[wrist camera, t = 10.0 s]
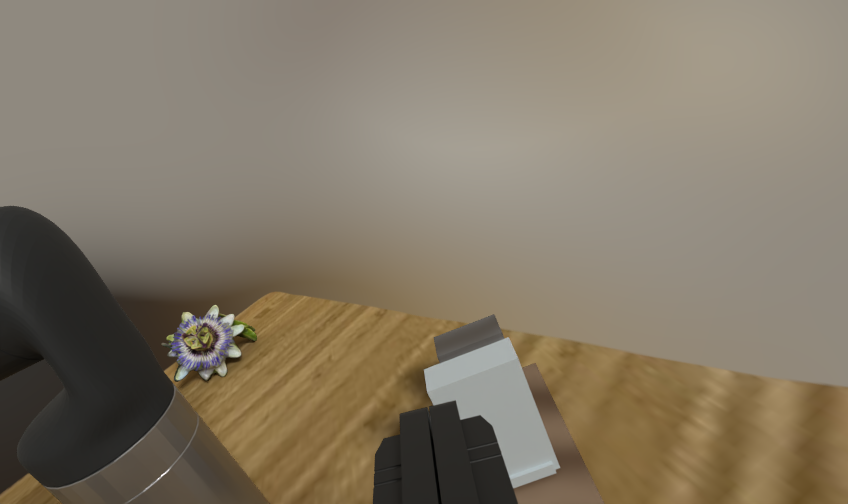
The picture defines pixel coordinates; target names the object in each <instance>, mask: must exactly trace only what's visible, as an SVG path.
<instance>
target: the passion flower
mask: <svg viewBox="0 0 848 504" xmlns="http://www.w3.org/2000/svg"><path fill="white" fill-rule="evenodd" d="M218 312H219V309H218V307H217V306H216V305H214V306H212V308H211V309H210V310H209V311H208V312H207V314H206V315H205V316H204V317H203V320H201V317H200V318H199V320H198V319H197V318H195V315H194V316H193V315H192V314H190V313H189V312H183V314H182V318H181V319H182V323H181V324H180V327H179V328H177V329H178V331H177V332H176V333H174V335H169V336H168V337H167V338H166V339H167V340H168V341H169V344H166V343H162V345H163V346H165V347H169V348H170V349H171V351H170V352H169V353H168V354H167V355H168V356H169V357H178V359H177V363H178V365H179V366H178V368H177V371H176V373H175V376H174V380H175V381H176V382H178V381H180V380H182V379H183V378H185V377H186V375H187V374H188V373H189V372H190V371H191V370H194V371H197V372H198V373H199V374H200V376H201V377H202V378H203V379H204V380H206V381H208V379H209V378H210V377H211V375H212V374H213V373H217V374H219V376H221V377H225V376H226V374H227V367H226V363H225V359H226V358H227V357H232V358H237V357H240V356H241V351H240V349H239V348H238V347H237V346H236V344H235V343H234V342H235V341H234V337H235V336H240V337H244V338H247V339H250V340H252V341H257V336H256V333H255V332H254V331H255V329H254V328H253V327H252V326H249V325H247V324H246V323H243V322H241V321H237V320H234V314H230V315H227V316H226V315H223V314H221V313H218ZM218 317H219V318H218ZM220 317H223V318H221V319H220Z"/></svg>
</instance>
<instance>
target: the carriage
mask: <svg viewBox="0 0 848 504" xmlns="http://www.w3.org/2000/svg"><path fill="white" fill-rule="evenodd" d="M424 374H425V381H426V388H427V393H428V395H429V397H430V399H431V401H432V403H433V405H438V404H442V403H446V402H450V401H454V400H456V403H457V407H458V411H459V416H460V420H462V419H466V418H470V417H474V416H479V415H481V416H482V417H483V418H484V419H485V420H486V421H487V422H489V423H490V424H491V425H492V426H493V429H494V432H495V435H496V438H497V441H498V444H499V447H500V450H501V453H502V456H503V459H504V462H505V465H506V468H507V471H508V474H509V477H510V480H511V483H512V486H513V488H516V487H519V486H522V485H525V484H527V483H530V482H533V481H536V480H539V479H541V478H544V477H547V476H550V475H553V474H556V469H559V468H560V466H559V463H558V461H557V458H556V455H555V453H554V450H553V448H552V445H551V443H550V440H549V437H548V435H547V432H546V430H545V427H544V424H543V422H542V419H541V417H540V414H539V411H538V409H537V406H536V404H535V401H534V398H533V396H532V393H531V391H530V388H529V385H528V383H527V380H526V378H525V375H524V372H523V370H522V367H521V365H520V362H519V359H518V357H517V355H516V352H515V350H514V348H513V346H512V343H511V341H510V339H509V337H508V338H505V339H503V340H500V341H497V342H495V343H492V344H490V345H487V346H484V347H482V348H479V349H476V350H474V351H471V352H469V353H466V354H463V355H461V356H458V357H455V358H453V359H450V360H448V361H445V362H442V363H440V364H437V365H434V366H432V367H429V368H427V369H424Z"/></svg>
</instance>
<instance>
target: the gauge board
mask: <svg viewBox="0 0 848 504" xmlns="http://www.w3.org/2000/svg"><path fill="white" fill-rule="evenodd" d="M503 339H504V337H503V334H502V332H501V329H500V327H499V325H498V322H497V320H496V318H495V315H491V316H488V317H486V318H483V319H481V320H478V321H475V322H473V323H470V324H468V325H465V326H462V327H460V328H457V329H455V330H452V331H449V332H447V333H444V334H442V335H439V336H436V337H434V342H435V347H436V352H437V357H438V359H439V361H440V363H442V362H445V361H448V360H450V359H453V358H455V357H458V356H461V355H463V354H466V353H469V352H471V351H474V350H476V349H479V348H482V347H484V346H487V345H490V344H492V343H495V342H497V341H500V340H503ZM522 370H523V372H524V375H525V378H526V380H527V383H528V385H529V388H530V391H531V393H532V396H533V398H534V401H535V404H536V406H537V409H538V411H539V414H540V417H541V419H542V422H543V424H544V427H545V430H546V432H547V435H548V437H549V440H550V443H551V445H552V448H553V450H554V453H555V455H556V458H557V461H558V463H559V466H560V468H559V469H556V474H553V475H550V476H547V477H544V478H541V479H539V480H536V481H533V482H530V483H527V484H525V485H522V486H519V487H516V488H513V489H514V492H515V495H516V498H517V501H518V504H604V502H603V500H602V498H601V496H600V494H599V492H598V490H597V488H596V486H595V484H594V481H593V479H592V477H591V475H590V473H589V471H588V469H587V467H586V465H585V463H584V461H583V459H582V457H581V455H580V453H579V451H578V449H577V447H576V445H575V443H574V441H573V439H572V437H571V435H570V433H569V431H568V429H567V427H566V424H565V422H564V420H563V418H562V416H561V414H560V412H559V410H558V408H557V406H556V404H555V402H554V400H553V398H552V396H551V394H550V392H549V390H548V388H547V386H546V384H545V382H544V380H543V378H542V376H541V374H540V372H539V370H538V367H537V365H536V363H534V364H531V365H528V366H526V367H523V368H522Z"/></svg>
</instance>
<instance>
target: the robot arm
mask: <svg viewBox="0 0 848 504" xmlns="http://www.w3.org/2000/svg"><path fill="white" fill-rule="evenodd" d="M43 359H45V360H46V361H47V362H48V363H49V365H50V366H51V367H52V369H53V370H54V372H55V373H56V375H57V376H58V378H59V379H60V380H61V382H62V384H63V386H64V389H63V390H62V391H61V392H60V393H59V394H58V395H57V396H56V397H55V398H54V399H53V400H52V401H51V402H50V403H49V404H48V405H47V406H46V407H45V408H44V409H43V410H42V411H41V412H40V413H39V414H38V415H37V417H36V418H35V419H34V420H33V421H32V422H31V424H30V425H29V426H28V428H27V429H26V431H25V432H24V434H23V436H22V438H21V440H20V441H19V444H18V448H17V457H18V459H19V461H20V463H21V465H22V466H23V467H24V468H25V469H26V470H27V471H28V472H29V473H30V474H31V475H32V476H33V477H34V478H35V479H36V480H37V481H39V482H40V483H41V484H42V485H43V486H44V487H45V488H46V489H47V490H48V491H50V492H51V493H52V494H53V495H54V496H55V497H56V498H57V499H58V500H59V501H60V502H62V503H63V504H270V503H269V502H268V501H267V500H266V498H265V497H264V496H263V494H262V493H261V492H260V490H259V489H258V488H257V487H256V485H255V484H254V483H253V482H252V481H251V479H250V478H249V477H248V476H247V474H246V473H245V472H244V471H243V469H242V468H241V467H240V466H239V464H238V463H237V462H236V461H235V459H234V458H233V457H232V456H231V454H230V453H229V452H228V451H227V449H226V448H225V447H224V446H223V444H222V443H221V442H220V441H219V439H218V438H217V437H216V436H215V435H214V433H213V432H212V431H211V430H210V428H209V427H208V426H207V425H206V423H205V422H204V421H203V420H202V418H201V417H200V416H199V415H198V413H197V412H196V411H195V410H194V409H193V408H192V406H191V405H190V404H189V403H188V401H187V400H186V399H185V398H184V396H183V395H182V394H181V393H180V391H179V390H178V389H177V388H176V386H175V385H174V384H173V383H172V381H171V380H170V379H169V378H168V377H167V375H166V374H165V373H164V371H163V370H162V368H161V367H160V365H159V363H158V361H157V360H156V358H155V356H154V355H153V352H152V350H151V348H150V347H149V345H148V344H147V342H146V341H145V339H144V338H143V336H142V335H141V333H140V332H139V331H138V330H137V328H136V327H135V326H134V324H133V323H132V322H131V321H130V319H129V318H128V316H127V315H126V313H125V312H124V311H123V309H122V308H121V306H120V305H119V304H118V302H117V301H116V299H115V298H114V296H113V295H112V294H111V292H110V291H109V289H108V288H107V286H106V285H105V283H104V282H103V280H102V279H101V277H100V276H99V275H98V273H97V272H96V270H95V269H94V267H93V266H92V265H91V263H90V262H89V261H88V259H87V258H86V257H85V255H84V254H83V252H82V251H81V250H80V249H79V248H78V247H77V245H76V244H75V243H74V242H73V241H72V240H71V239H70V237H69V236H68V235H67V234H65V232H63V231H62V230H61V229H60V228H59V227H58V226H57V225H55V224H54V223H53V222H52V221H50V220H48V219H47V218H45V217H44V216H42V215H41V214H38V213H36V212H34V211H32V210H29V209H26V208H23V207H17V206H4V207H0V381H1V380H3V379H5V378H7V377H9V376H10V375H13V374H15V373H17V372H19V371H21V370H23V369H25V368H27V367H29V366H31V365H33V364H35V363H37V362H39V361H41V360H43ZM429 411H430V415H429ZM429 411H428V408H427V407H426V408H421V409H417V410H413V411H409V412H405V413H401V414H400V435H396V436H392V437H388V438H384V439H383V441H382V443H381V445H380V446H379V448H378V450H377V452H376V454H375V469H374V471H375V474H374V491H373V504H518V501H517V498H516V495H515V492H514V489H513V486H512V483H511V480H510V477H509V474H508V471H507V468H506V465H505V462H504V459H503V456H502V453H501V450H500V447H499V444H498V441H497V438H496V435H495V432H494V429H493V426H492V425H491V424H490V423H489V422H487V421H486V420H485V419H484V418H483V417H482V416H481V415H479V416H474V417H470V418H466V419H462V420H460V416H459V411H458V407H457V403H456V400H454V401H450V402H446V403H442V404H438V405H433V406H429Z"/></svg>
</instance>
